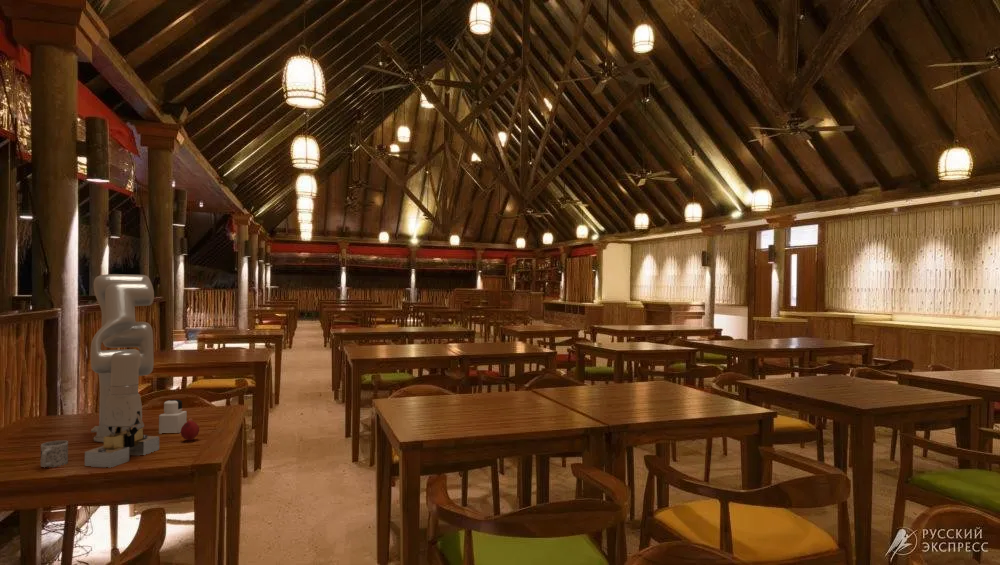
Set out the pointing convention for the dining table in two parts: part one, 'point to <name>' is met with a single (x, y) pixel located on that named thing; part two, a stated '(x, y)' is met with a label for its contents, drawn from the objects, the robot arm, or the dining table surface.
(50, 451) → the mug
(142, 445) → the block
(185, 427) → the onion
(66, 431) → the dining table surface
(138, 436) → the tan block
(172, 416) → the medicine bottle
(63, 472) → the dining table surface
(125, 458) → the block
